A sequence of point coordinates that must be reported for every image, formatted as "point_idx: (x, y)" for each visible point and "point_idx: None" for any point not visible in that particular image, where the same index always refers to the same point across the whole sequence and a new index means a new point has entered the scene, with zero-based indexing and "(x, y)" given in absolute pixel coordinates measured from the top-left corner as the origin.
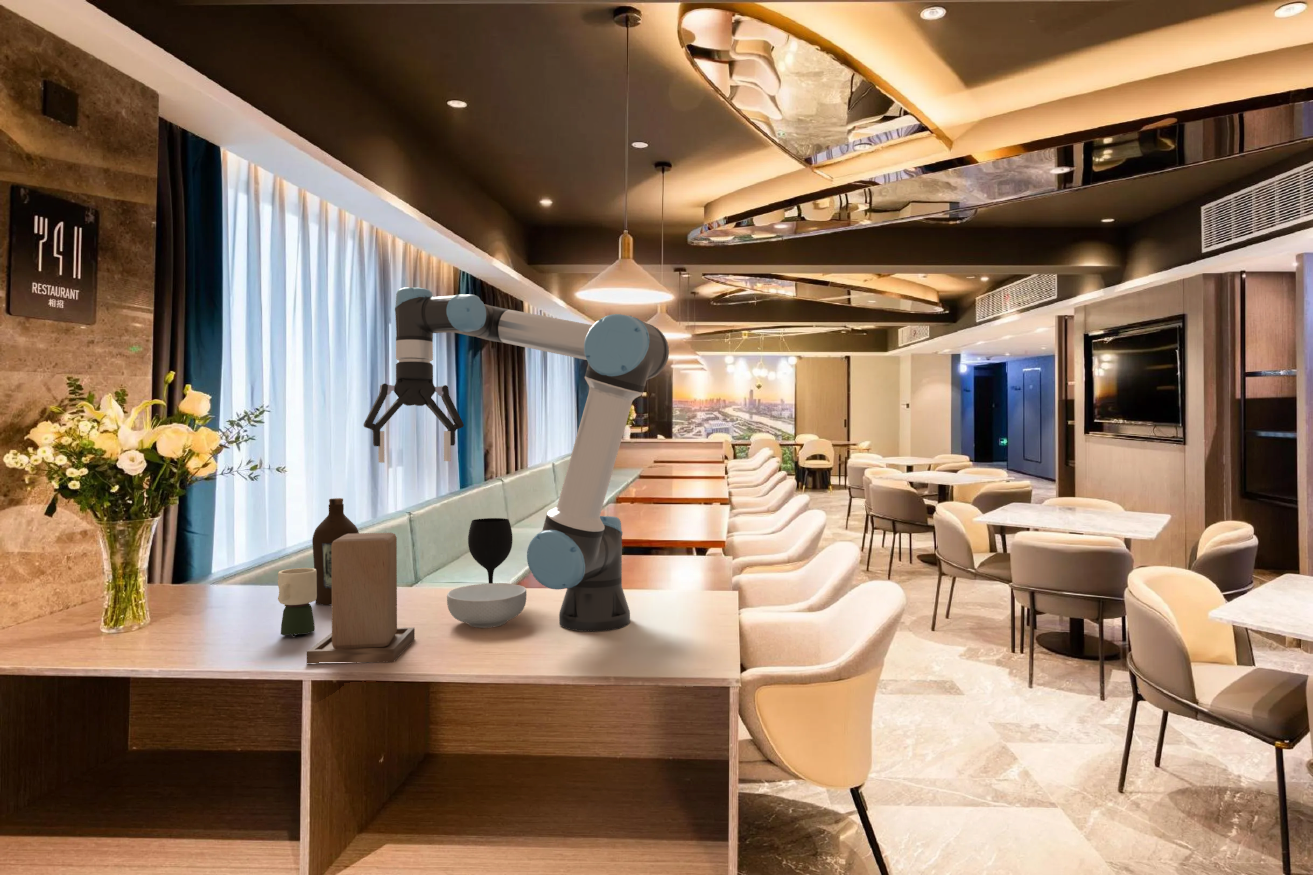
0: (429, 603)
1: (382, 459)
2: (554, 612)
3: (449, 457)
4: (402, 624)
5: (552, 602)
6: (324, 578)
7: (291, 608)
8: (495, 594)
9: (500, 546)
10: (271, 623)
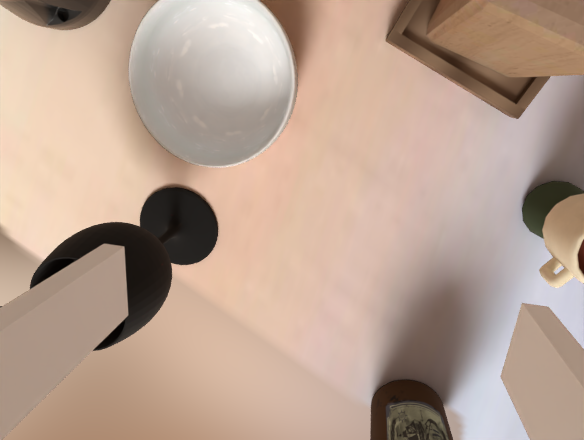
0: (273, 293)
1: (544, 316)
2: (98, 85)
3: (96, 252)
4: (366, 168)
5: (79, 164)
6: (444, 427)
7: None
8: (181, 142)
9: (104, 223)
10: (558, 318)
